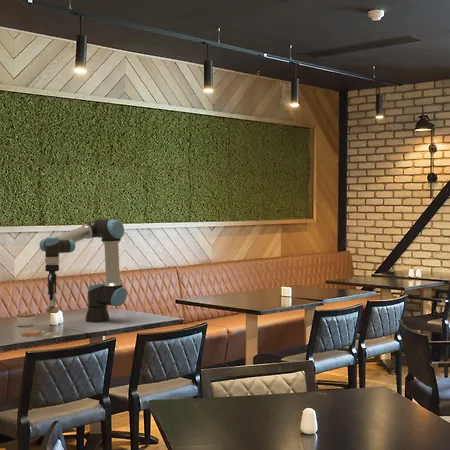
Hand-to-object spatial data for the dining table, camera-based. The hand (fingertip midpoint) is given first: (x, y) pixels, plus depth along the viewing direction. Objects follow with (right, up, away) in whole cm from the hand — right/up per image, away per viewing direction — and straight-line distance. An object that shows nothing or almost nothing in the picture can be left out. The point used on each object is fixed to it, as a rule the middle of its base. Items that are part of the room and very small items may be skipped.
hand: (52, 305), depth 414 cm
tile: (-12, -15, +4) cm, 19 cm away
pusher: (0, -4, 0) cm, 4 cm away
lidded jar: (-22, -16, +27) cm, 39 cm away
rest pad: (0, -17, +1) cm, 17 cm away
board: (-11, -17, 0) cm, 20 cm away
